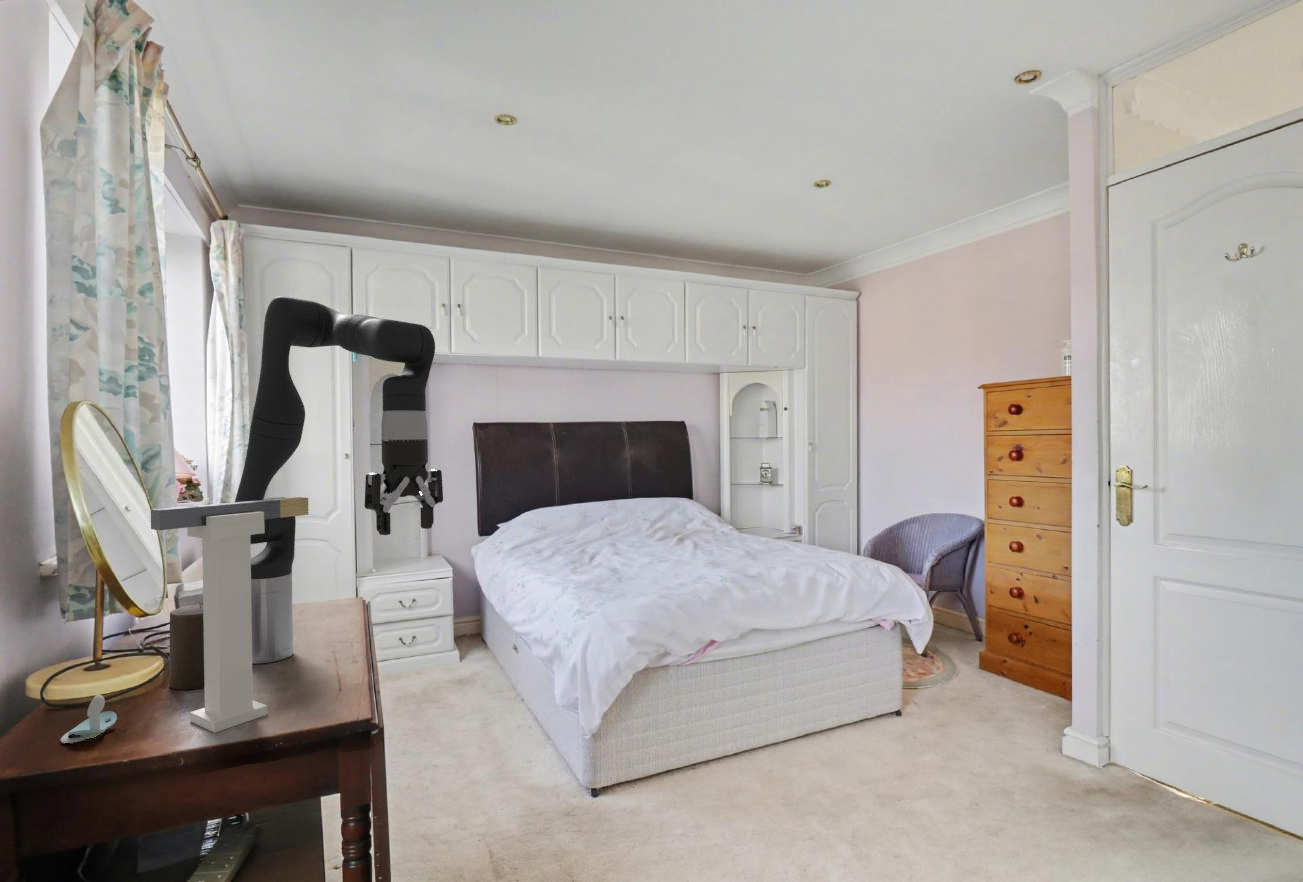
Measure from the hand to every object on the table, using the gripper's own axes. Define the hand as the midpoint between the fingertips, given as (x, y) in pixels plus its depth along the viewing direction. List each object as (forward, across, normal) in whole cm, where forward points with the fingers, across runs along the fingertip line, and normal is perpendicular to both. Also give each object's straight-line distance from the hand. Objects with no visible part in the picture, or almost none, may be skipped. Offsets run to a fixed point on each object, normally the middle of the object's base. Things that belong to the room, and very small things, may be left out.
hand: (406, 531), depth 117 cm
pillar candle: (+30, +14, -42) cm, 53 cm away
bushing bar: (-3, +19, -19) cm, 27 cm away
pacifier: (+30, +35, -31) cm, 55 cm away
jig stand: (+29, +20, -19) cm, 40 cm away
